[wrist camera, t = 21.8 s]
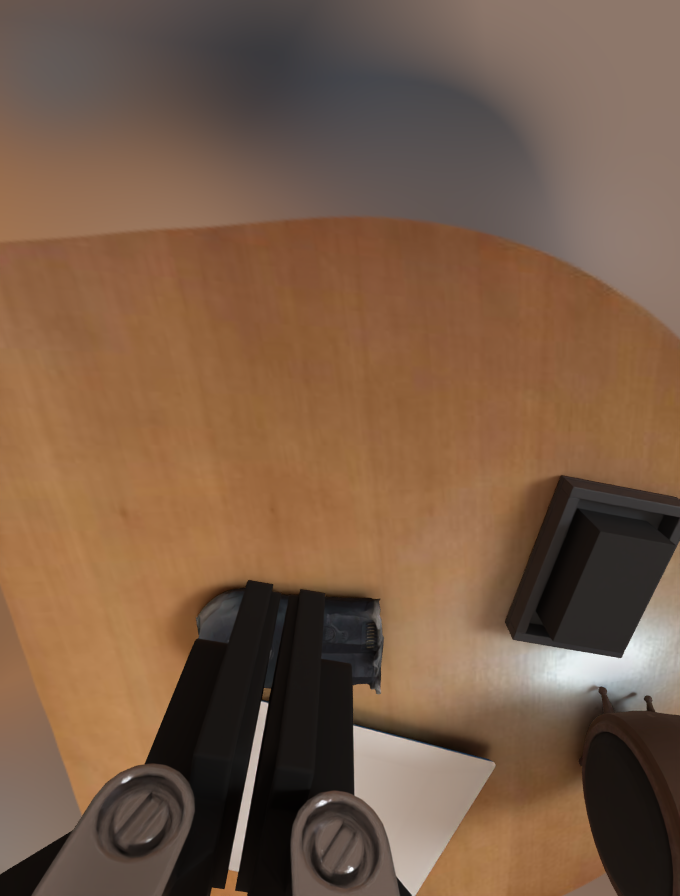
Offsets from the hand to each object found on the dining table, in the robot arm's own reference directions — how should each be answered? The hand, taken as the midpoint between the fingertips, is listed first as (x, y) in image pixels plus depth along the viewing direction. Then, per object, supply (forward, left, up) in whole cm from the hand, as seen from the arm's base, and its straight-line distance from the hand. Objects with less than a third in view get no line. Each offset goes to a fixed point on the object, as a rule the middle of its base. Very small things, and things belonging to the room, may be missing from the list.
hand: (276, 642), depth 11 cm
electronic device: (+21, +1, -25) cm, 33 cm away
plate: (+40, +9, -25) cm, 48 cm away
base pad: (+10, +23, -25) cm, 35 cm away
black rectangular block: (+10, +23, -24) cm, 35 cm away
